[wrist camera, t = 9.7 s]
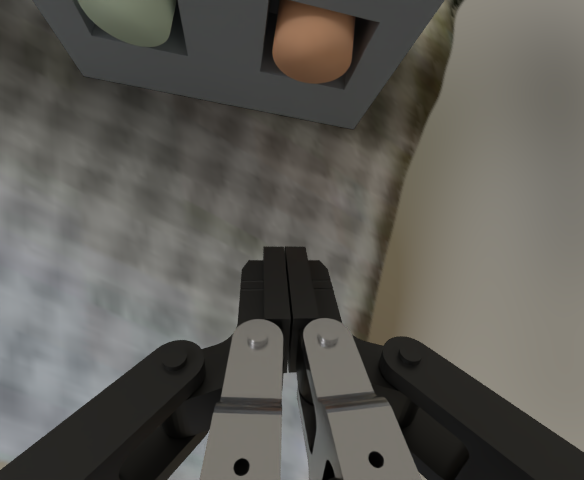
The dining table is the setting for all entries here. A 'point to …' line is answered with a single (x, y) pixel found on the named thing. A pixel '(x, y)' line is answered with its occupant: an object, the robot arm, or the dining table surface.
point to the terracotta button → (312, 42)
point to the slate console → (247, 54)
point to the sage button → (133, 19)
